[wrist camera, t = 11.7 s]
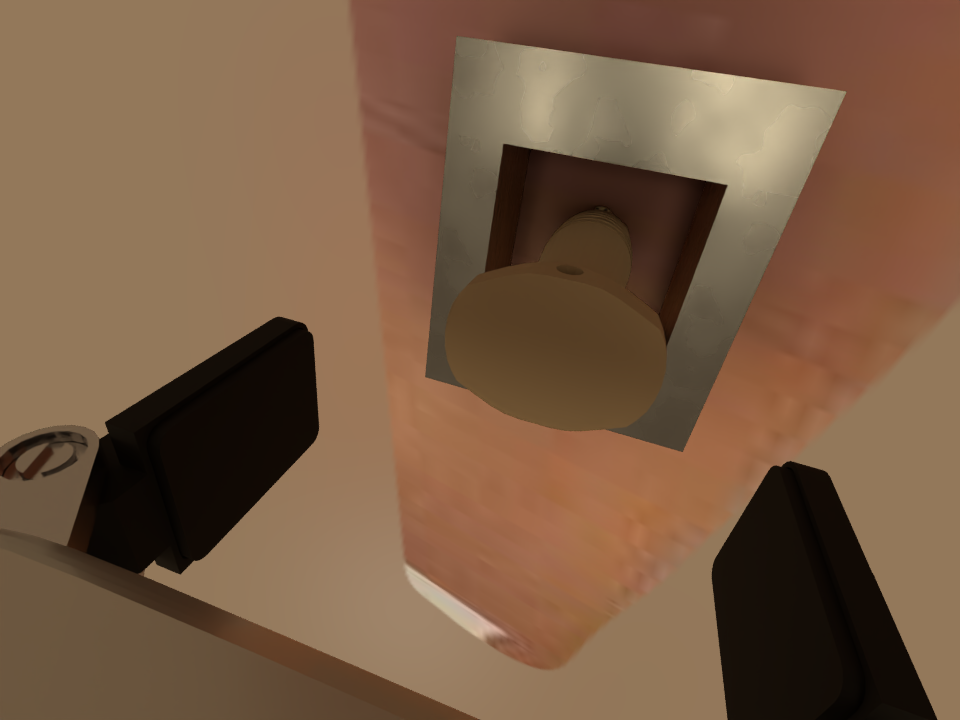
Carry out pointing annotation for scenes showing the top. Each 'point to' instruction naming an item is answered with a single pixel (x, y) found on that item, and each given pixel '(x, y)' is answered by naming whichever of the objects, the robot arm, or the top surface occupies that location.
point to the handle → (561, 333)
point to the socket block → (640, 144)
